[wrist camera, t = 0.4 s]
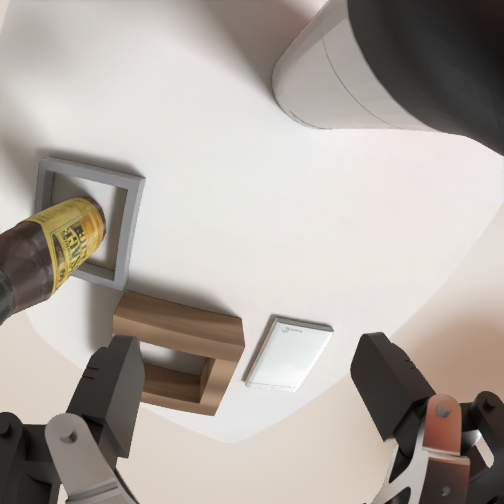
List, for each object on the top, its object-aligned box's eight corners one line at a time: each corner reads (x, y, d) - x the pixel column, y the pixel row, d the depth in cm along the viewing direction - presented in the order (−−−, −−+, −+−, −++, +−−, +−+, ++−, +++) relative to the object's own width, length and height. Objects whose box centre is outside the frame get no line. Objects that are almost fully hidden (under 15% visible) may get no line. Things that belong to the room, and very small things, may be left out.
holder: (126, 289, 30) (113, 314, 25) (241, 318, 33) (245, 346, 28) (120, 368, 34) (112, 393, 30) (213, 389, 37) (214, 416, 33)
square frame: (49, 156, 23) (40, 158, 21) (145, 178, 25) (140, 181, 23) (42, 255, 27) (34, 262, 25) (126, 282, 29) (121, 291, 27)
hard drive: (277, 322, 32) (245, 387, 36) (335, 332, 34) (296, 392, 38) (274, 313, 34) (244, 379, 38) (331, 324, 35) (294, 385, 40)
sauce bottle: (103, 256, 28) (7, 392, 10) (58, 237, 26) (-54, 345, 8) (116, 202, 26) (-14, 314, 8) (69, 183, 24) (-76, 262, 6)
